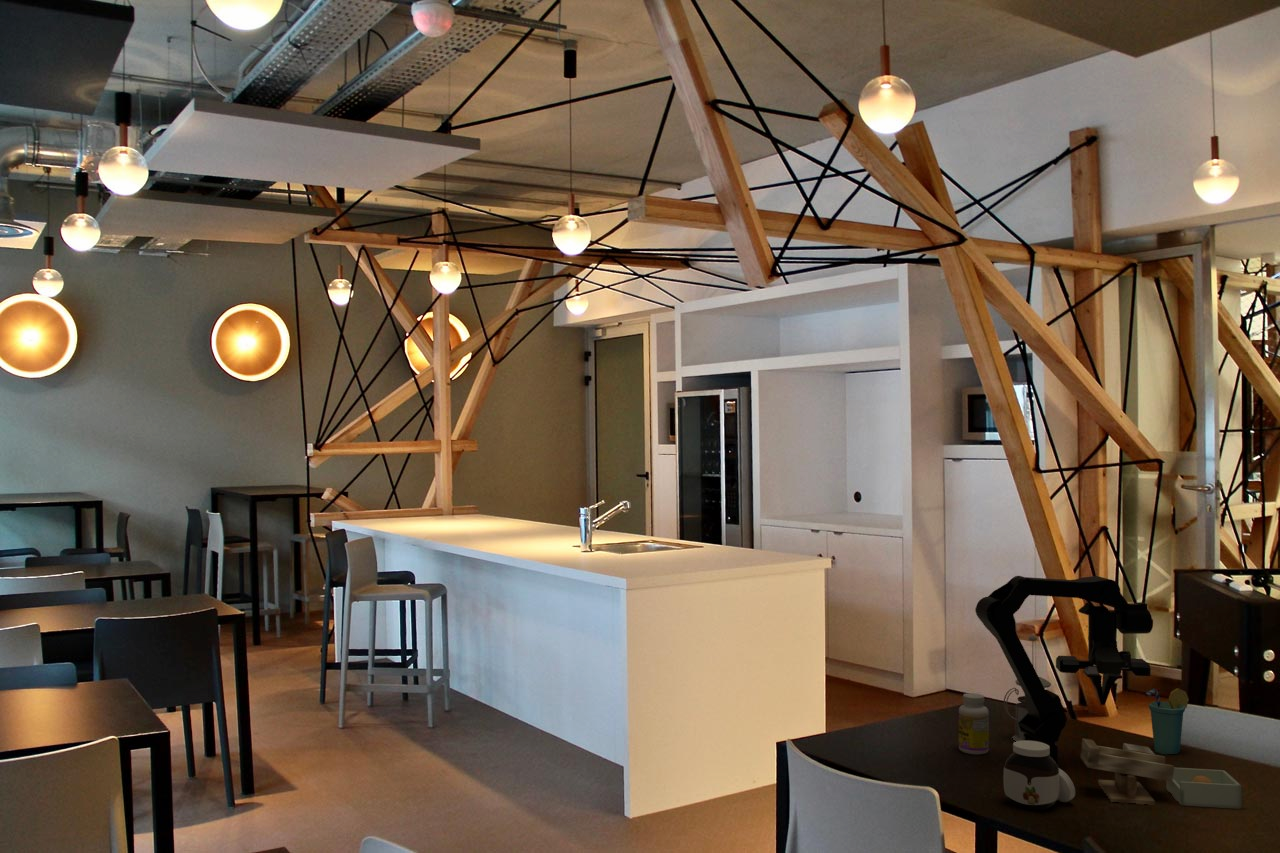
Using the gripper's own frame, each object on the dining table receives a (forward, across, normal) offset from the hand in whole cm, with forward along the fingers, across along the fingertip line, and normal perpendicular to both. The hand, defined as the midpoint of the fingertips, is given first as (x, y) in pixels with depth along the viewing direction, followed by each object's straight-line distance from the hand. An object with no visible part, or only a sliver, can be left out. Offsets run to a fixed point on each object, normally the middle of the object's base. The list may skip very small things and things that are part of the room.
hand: (1102, 704), depth 241 cm
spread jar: (+13, -18, -30) cm, 37 cm away
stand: (+13, 0, -21) cm, 25 cm away
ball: (+10, +14, -21) cm, 27 cm away
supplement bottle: (+13, -27, +4) cm, 30 cm away
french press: (+13, -13, +16) cm, 24 cm away
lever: (+8, 0, -16) cm, 18 cm away
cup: (+13, +16, +12) cm, 24 cm away
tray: (+13, +14, -21) cm, 29 cm away
